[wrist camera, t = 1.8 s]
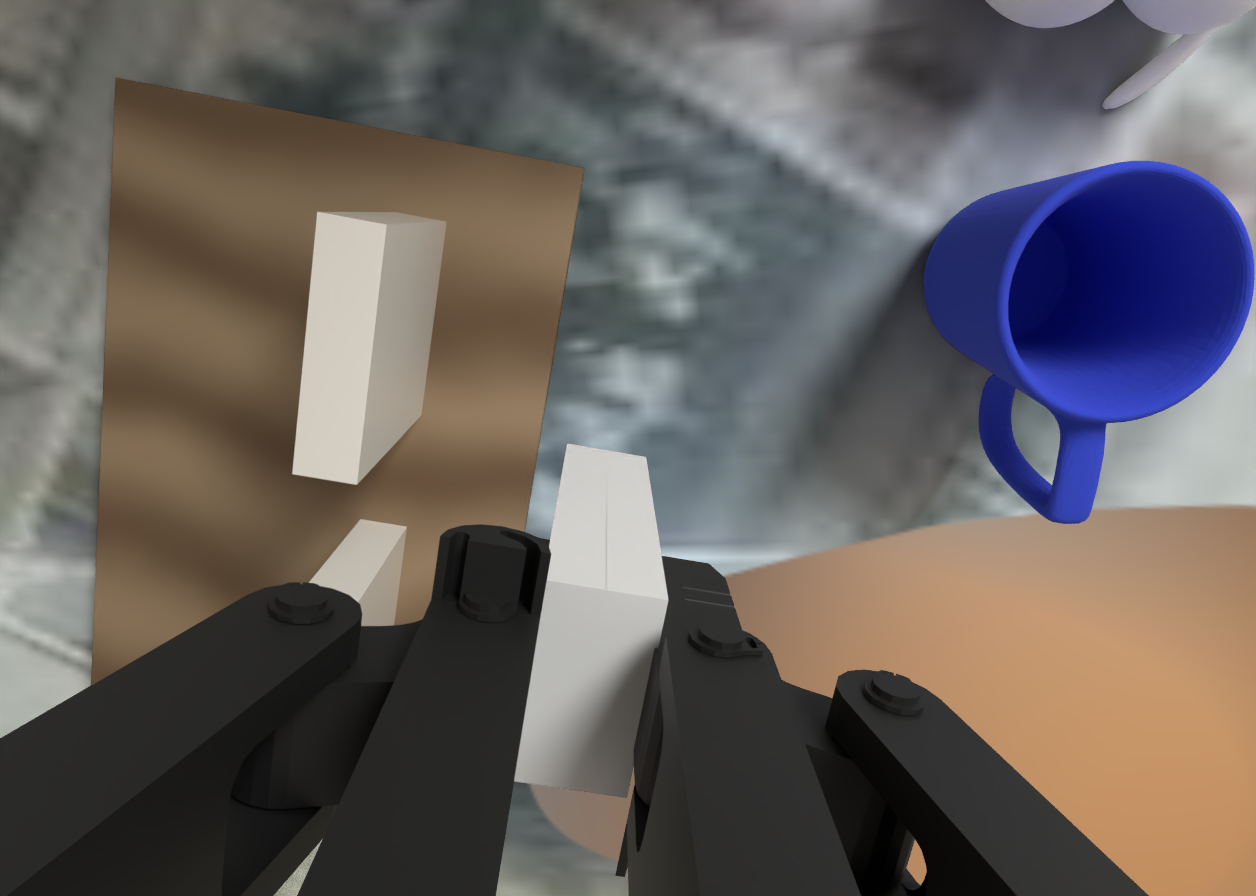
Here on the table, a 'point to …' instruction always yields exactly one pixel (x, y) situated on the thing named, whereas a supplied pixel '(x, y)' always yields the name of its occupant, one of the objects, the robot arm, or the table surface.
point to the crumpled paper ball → (1163, 3)
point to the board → (300, 353)
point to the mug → (1090, 308)
